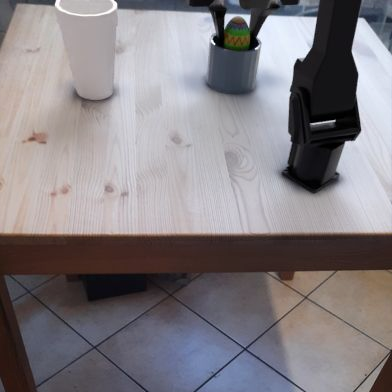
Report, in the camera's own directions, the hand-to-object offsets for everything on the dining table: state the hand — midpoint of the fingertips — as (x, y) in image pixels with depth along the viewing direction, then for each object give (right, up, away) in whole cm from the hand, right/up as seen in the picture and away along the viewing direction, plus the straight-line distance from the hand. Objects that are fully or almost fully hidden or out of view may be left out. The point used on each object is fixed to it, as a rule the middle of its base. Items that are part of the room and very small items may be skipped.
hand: (235, 48), depth 85 cm
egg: (0, -1, +1) cm, 1 cm away
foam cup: (-25, -8, 0) cm, 26 cm away
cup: (0, -3, +5) cm, 6 cm away
